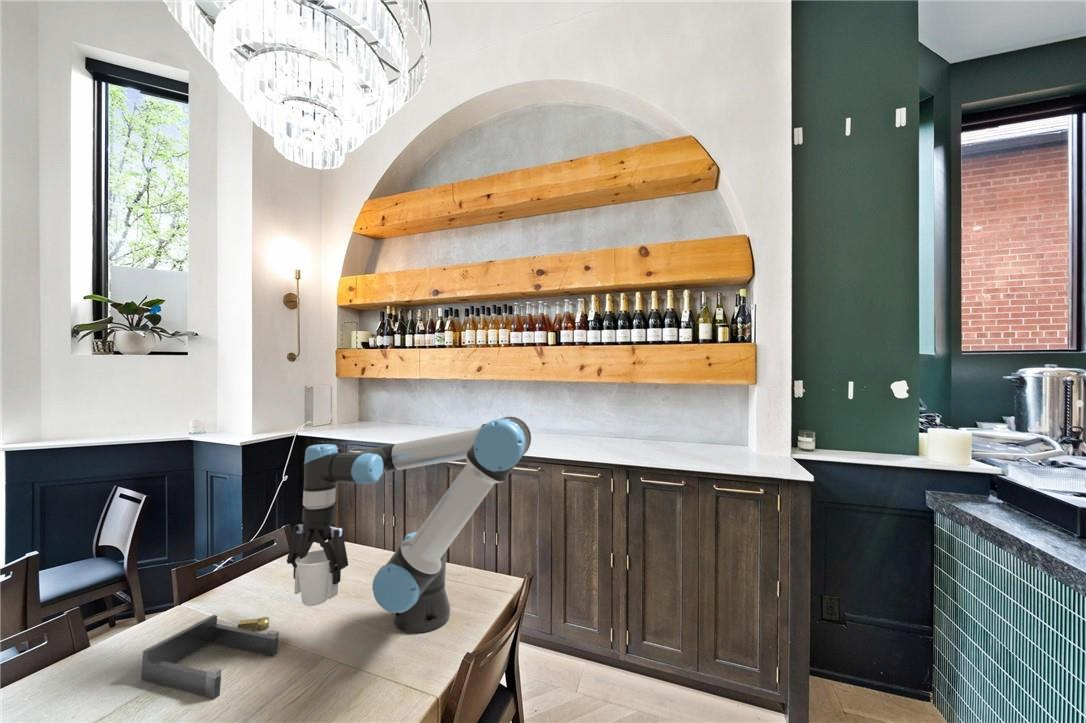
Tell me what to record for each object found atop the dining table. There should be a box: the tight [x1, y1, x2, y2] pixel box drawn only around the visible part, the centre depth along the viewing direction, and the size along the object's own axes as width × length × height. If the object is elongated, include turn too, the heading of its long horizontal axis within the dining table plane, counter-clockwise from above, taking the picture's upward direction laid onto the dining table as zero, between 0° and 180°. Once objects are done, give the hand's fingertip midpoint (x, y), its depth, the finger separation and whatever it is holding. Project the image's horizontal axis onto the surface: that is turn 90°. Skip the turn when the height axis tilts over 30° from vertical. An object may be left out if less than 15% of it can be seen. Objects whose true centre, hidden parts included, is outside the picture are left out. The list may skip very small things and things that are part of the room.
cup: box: [295, 549, 331, 607], centre depth 110 cm, size 10×10×11 cm
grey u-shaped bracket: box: [140, 614, 280, 700], centre depth 97 cm, size 20×15×6 cm
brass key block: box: [236, 616, 270, 632], centre depth 112 cm, size 7×3×2 cm, turn 106°
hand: (316, 594), depth 110 cm, fingers closed on cup, 9 cm apart
